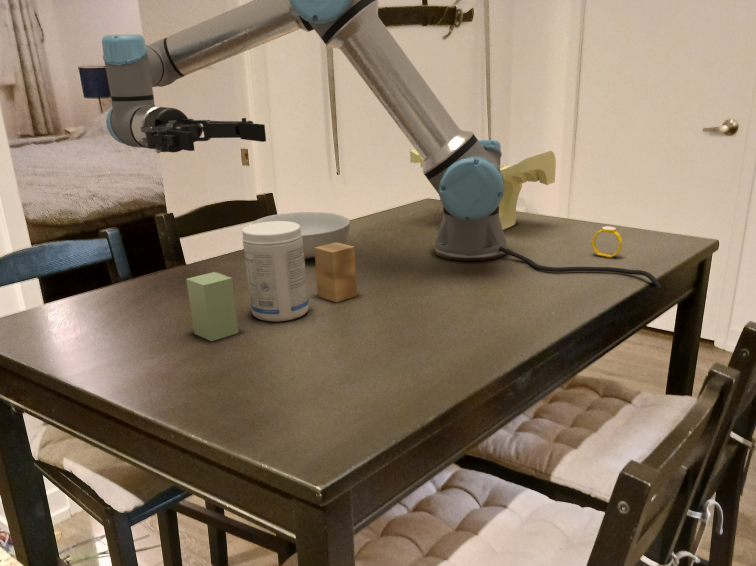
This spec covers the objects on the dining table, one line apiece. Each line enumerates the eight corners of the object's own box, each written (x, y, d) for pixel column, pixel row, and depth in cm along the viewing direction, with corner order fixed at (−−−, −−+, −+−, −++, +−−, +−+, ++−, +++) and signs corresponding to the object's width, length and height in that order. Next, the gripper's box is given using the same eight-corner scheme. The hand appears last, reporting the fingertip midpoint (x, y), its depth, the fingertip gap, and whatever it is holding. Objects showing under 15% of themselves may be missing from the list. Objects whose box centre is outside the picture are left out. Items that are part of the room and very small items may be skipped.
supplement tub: (299, 301, 134) (292, 217, 128) (317, 317, 126) (310, 229, 120) (244, 310, 130) (234, 224, 124) (259, 327, 122) (250, 236, 116)
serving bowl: (234, 262, 158) (230, 229, 155) (285, 239, 176) (282, 209, 173) (323, 271, 151) (320, 237, 148) (367, 246, 169) (366, 214, 166)
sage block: (221, 325, 123) (214, 271, 120) (238, 332, 120) (232, 277, 116) (194, 333, 120) (186, 278, 116) (211, 341, 117) (203, 285, 113)
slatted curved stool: (552, 225, 183) (556, 149, 176) (523, 240, 171) (526, 158, 164) (445, 213, 198) (444, 142, 191) (411, 225, 186) (410, 150, 179)
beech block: (339, 290, 139) (336, 241, 136) (357, 296, 136) (354, 246, 132) (317, 296, 136) (314, 247, 132) (335, 302, 133) (332, 252, 129)
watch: (589, 256, 158) (591, 227, 155) (593, 253, 160) (596, 224, 157) (617, 259, 155) (620, 230, 152) (622, 256, 157) (624, 227, 154)
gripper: (225, 143, 146) (292, 152, 132) (99, 159, 130) (161, 171, 116) (220, 101, 143) (288, 106, 129) (91, 112, 127) (153, 119, 113)
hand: (228, 137), depth 123 cm, fingers open, 13 cm apart
